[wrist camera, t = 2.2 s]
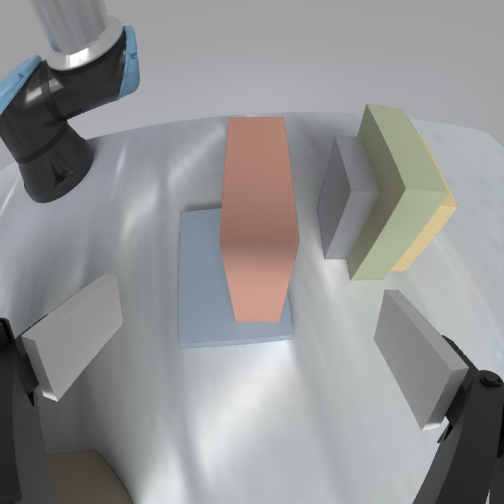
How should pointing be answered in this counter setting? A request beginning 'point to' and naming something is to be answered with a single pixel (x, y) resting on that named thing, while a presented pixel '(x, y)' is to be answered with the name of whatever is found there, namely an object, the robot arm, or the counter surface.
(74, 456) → the book
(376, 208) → the row books
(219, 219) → the flat book
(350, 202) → the stone bookend
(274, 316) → the terracotta book
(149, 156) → the counter surface
